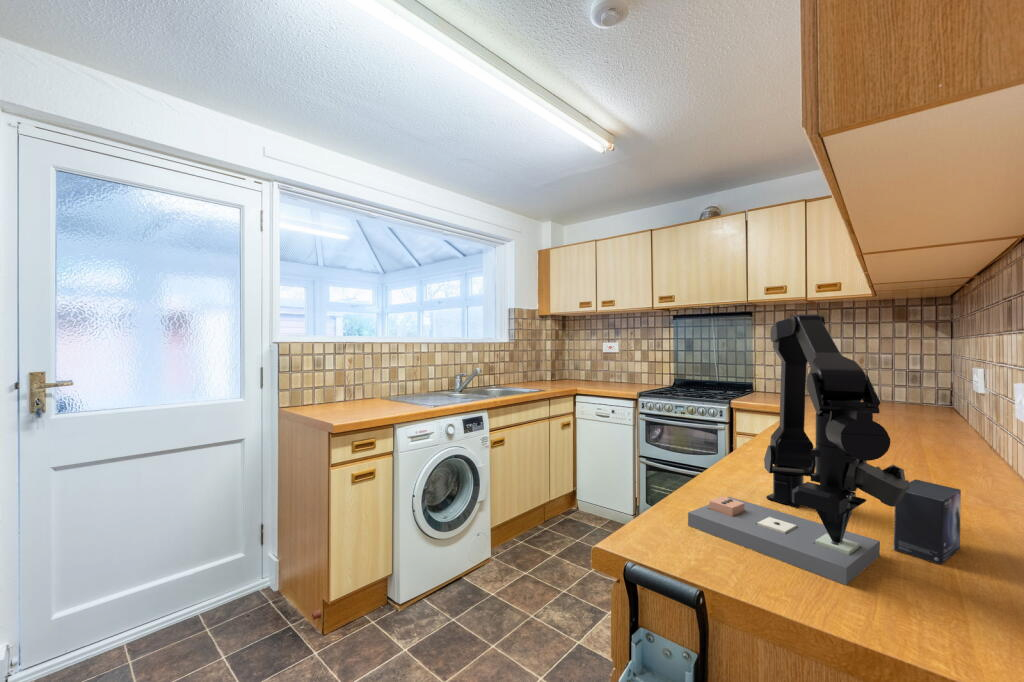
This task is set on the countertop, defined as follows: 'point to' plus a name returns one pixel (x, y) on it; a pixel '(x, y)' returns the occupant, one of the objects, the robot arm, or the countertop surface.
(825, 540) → the two-dot button
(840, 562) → the button board
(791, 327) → the robot arm
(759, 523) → the one-dot button
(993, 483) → the countertop surface
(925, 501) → the small box
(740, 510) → the three-dot button
